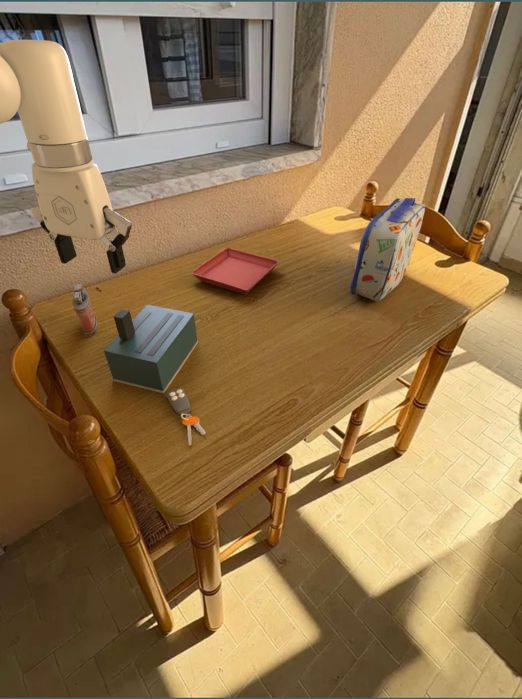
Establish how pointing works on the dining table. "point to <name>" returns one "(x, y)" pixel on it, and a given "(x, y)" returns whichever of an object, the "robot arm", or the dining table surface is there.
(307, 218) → the dining table surface
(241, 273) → the plant saucer
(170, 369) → the toaster
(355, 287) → the lunch box
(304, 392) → the dining table surface
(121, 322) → the slider
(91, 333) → the lighter
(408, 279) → the dining table surface
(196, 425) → the key chain
